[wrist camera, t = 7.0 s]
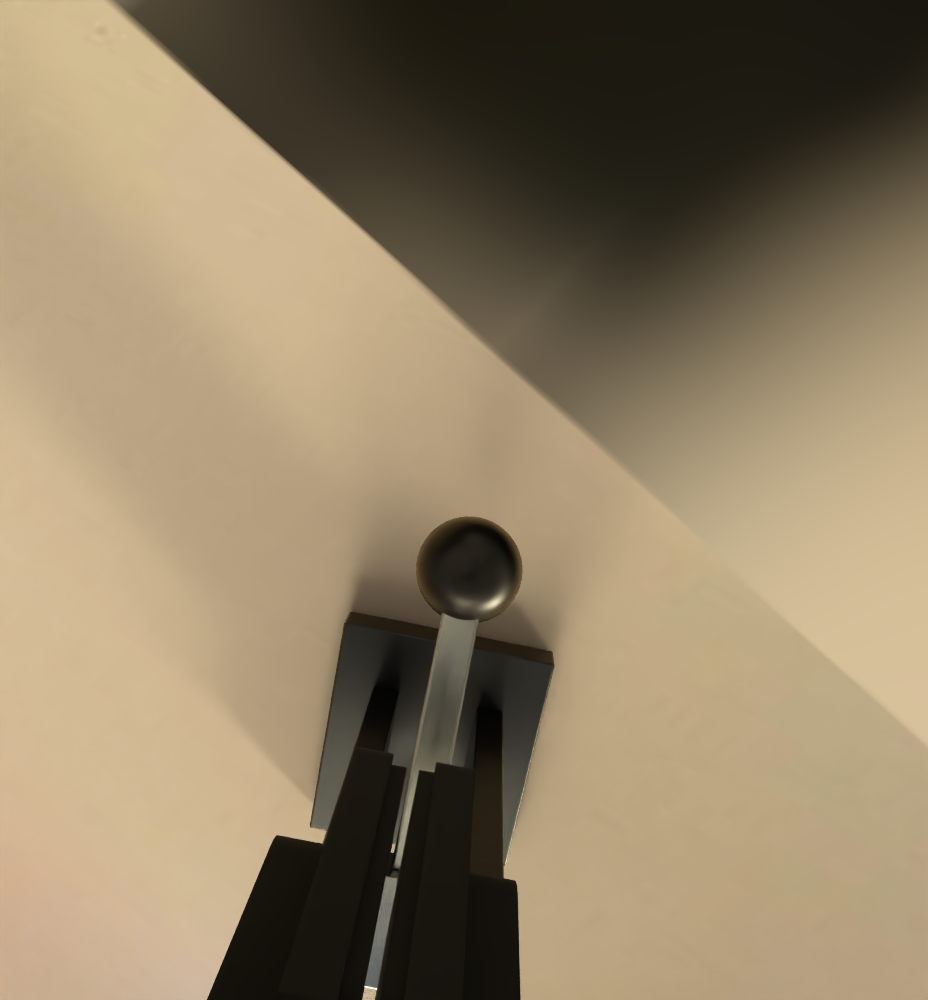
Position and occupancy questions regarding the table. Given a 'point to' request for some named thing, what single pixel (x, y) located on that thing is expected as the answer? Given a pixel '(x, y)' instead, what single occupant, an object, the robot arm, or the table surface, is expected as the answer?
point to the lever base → (397, 713)
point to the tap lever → (449, 656)
